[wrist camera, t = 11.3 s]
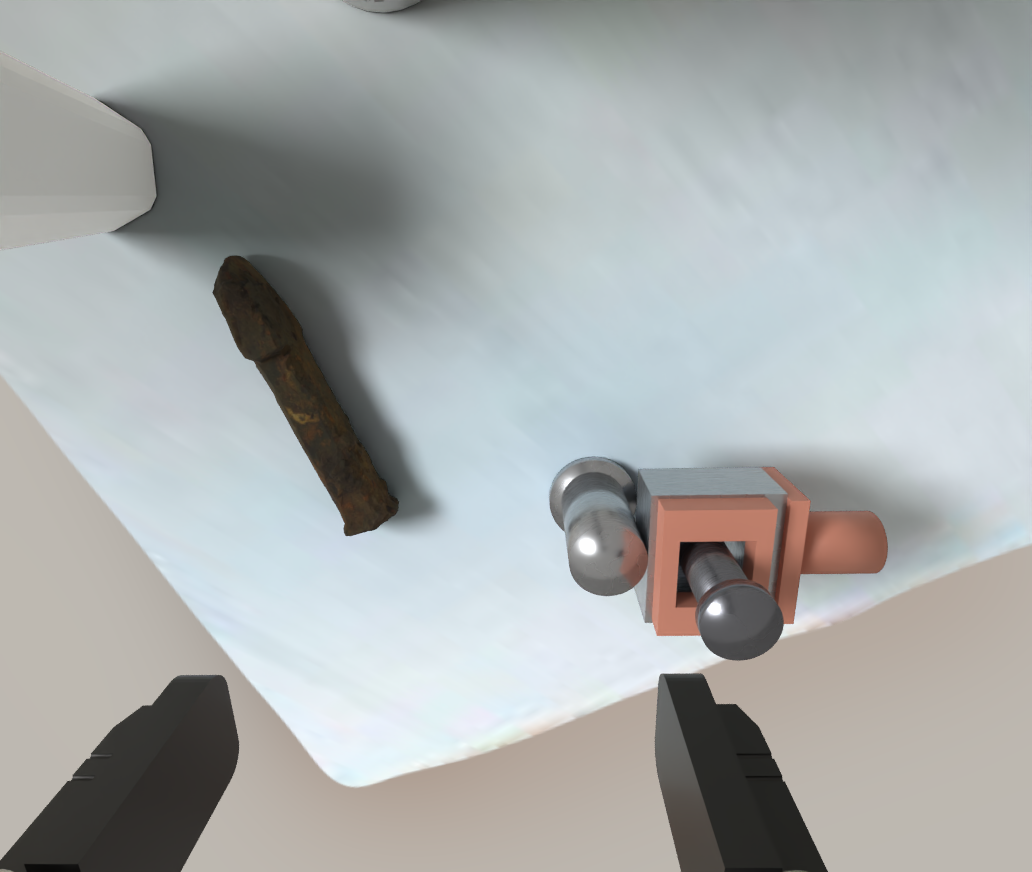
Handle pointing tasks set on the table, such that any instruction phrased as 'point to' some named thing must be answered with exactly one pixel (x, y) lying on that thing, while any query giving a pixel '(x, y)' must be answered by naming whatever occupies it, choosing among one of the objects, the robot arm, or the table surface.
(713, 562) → the steel pin
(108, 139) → the cup
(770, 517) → the bracket
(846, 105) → the table surface
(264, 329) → the hand tool
